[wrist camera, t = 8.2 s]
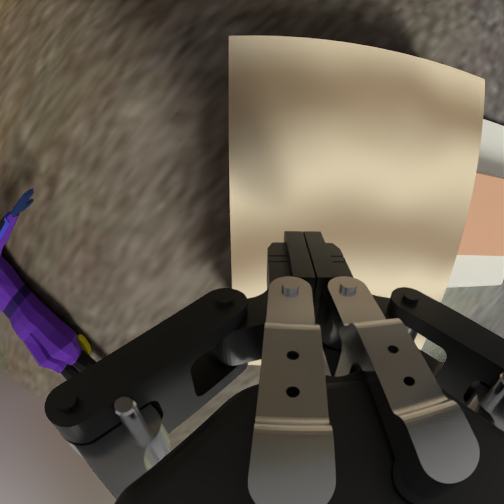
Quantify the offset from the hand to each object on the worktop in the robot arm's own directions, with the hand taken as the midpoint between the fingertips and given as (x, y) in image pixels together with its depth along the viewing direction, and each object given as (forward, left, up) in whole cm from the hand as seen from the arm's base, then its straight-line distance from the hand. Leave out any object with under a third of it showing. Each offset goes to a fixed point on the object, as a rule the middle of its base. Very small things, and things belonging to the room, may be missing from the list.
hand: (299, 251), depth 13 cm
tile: (+1, +19, -8) cm, 21 cm away
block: (+1, +4, -10) cm, 11 cm away
